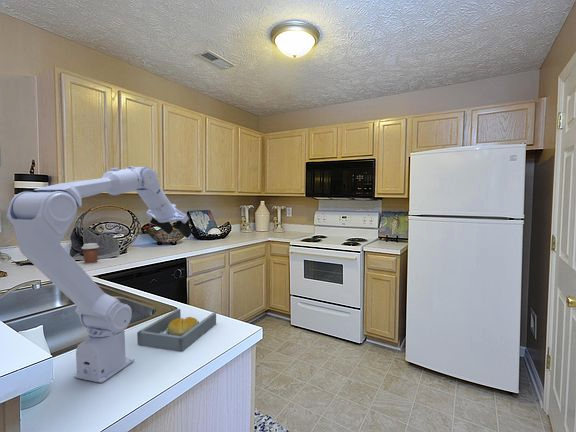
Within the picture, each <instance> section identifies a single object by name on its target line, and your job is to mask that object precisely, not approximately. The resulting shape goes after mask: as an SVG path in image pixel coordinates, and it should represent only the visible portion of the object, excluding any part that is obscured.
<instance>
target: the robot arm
mask: <svg viewBox="0 0 576 432" xmlns="http://www.w3.org/2000/svg"><path fill="white" fill-rule="evenodd" d="M130 192H136V193H137V194H138V195H139V196H140V198H141V200H142V201H143V202H144V203H145V205H146V207H147V208H148V209H147V211H146V212H145V213H146V215H147V216H148V217H149V218H151V220H150V221H149V223H150V224H151V225H154V226H156V227H157V228H159V229H161V230H162V231H164V233H166V234H167V235H171V234H172V232H173V231H174V229H175V230H176V231H179V232H180V233H181V234H182V235H183V236H184V237H185V238H186V239H189V237H190V236H191V235H192V229H191V226H190V225H191V224H190V220H191V216H190V215H189V214H188V213H183V212H181V211H180V210H179V209H178V208H177V204H175V203H171V201H170V200H169V198H168V197H167V195H166V194H165V192H164V191H163V189H162V188H161V183H160V182H159V177H158V173H157V170H154V169H152V167H150V166H134V165H131V166H127V167H126V168H122V169H120V168H119V167H112V168H109V170H108V171H105V172H104V173H103V175H102V176H101V178H93V179H84V180H77V181H69V182H60V183H57V184H52V185H46V186H42V187H41V186H40V187H37V188H35V189H33V191H22V192H19V193H17V194H16V195H14V197H12V199H11V200H10V203H9V206H8V209H7V212H6V215H5V217H6V218H7V220H9V222H10V223H11V224H12V225H13V229H14V233H15V237H16V240H17V244H18V249H19V251H20V253H21V254H22V255H23V256H24V257H25V258H26V259H27V260H28V261H29V262H30V263H32V265H34V267H36V268H37V269H38V270H39V271H40V272H41V273H42V274H43V275H44V276H45V277H46V278H47V279H48V280H49V281H50V282H51V283H53V285H55V287H56V288H58V290H60V291H61V292H62V293H63V294H64V295H65V296H66V297H67V298H68V299H69V300H70V301H71V302H72V303H74V304H75V306H76V308H75V310H74V313H75V314H77V316H78V317H79V321H80V324H81V325H82V326H83V327H85V328H86V333H88V335H87V337H86V338H85V339H84V340H83V341H81V342H80V343H79V344H78V345H77V347H76V348H75V349H76V350H75V356H76V358H75V362H76V363H75V364H76V373H75V374H74V376H73V377H74V378H76V379H80V380H81V379H82V380H86V381H91V382H96V383H104V382H106V381H107V380H109V379H110V378H111V377H113V376H114V375H116V374H117V373H119V372H120V371H121V370H123V369H124V368H126V367H127V366H128V365H131V364H132V363H133V362H134V361H135V358H133V357H126V339H125V336H126V334H125V331H126V329H127V328H128V326H129V324H130V323H131V319H132V317H133V316H132V314H133V313H132V312H133V311H132V307H131V306H130V305H128V304H127V303H122V302H121V301H120V300H119V299H118V298H116V297H114V296H112V295H109V294H108V293H106V292H105V291H103V289H101V287H100V286H99V285H98V283H96V282H95V281H94V280H93V278H92V277H91V276H90V275H89V274H88V273H87V272H86V271H85V270H84V269H83V268H82V266H80V264H79V263H78V262H77V261H76V260H75V259H74V258H73V256H71V254H69V252H68V251H67V250H66V248H64V247H63V246H62V244H61V242H62V240H63V239H64V237H65V235H67V234H66V233H67V232H68V230H69V228H70V227H71V225H72V223H73V221H74V219H75V217H76V215H77V214H78V208H81V207H82V204H83V203H82V202H83V201H82V199H84V198H88V197H92V196H96V195H100V194H102V193H107V194H108V195H111V196H119V195H122V194H125V193H130ZM171 222H175V223H174V224H173V225H172V224H171Z"/></svg>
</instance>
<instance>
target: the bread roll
mask: <svg viewBox="0 0 576 432" xmlns="http://www.w3.org/2000/svg"><path fill="white" fill-rule="evenodd" d="M198 323H200V321H199V320H198V319H196V318H195V317H192V316H188V317H185V318H177V319H174V320H172V321H171V322H170V323H169V325H168V327H167V333H168V335H175V336H182V335H183V334H185V333H186V332H188V331H189V330H190V329H192V328H193V327H194V326H196V325H197V324H198Z"/></svg>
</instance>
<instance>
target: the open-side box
mask: <svg viewBox="0 0 576 432" xmlns="http://www.w3.org/2000/svg"><path fill="white" fill-rule="evenodd" d="M177 318H181V308H177V309H174V310H173V311H171V312H170V313H168V314H166V315H165V316H163V317H161V318H159V319H158V320H155V321H154V322H152V323H150V324H149V325H147V326H146V327H144V328H142V329H140V330H139V331H137V333H136V336H137V338H136V339H137V346H144V347H151V348H157V349H163V350H164V349H165V350H170V351H177V352H184V351H185V350H186V349H188V348H189V347H190V346H191V345H192V344H193V343H195V342H196V341H197V340H198V339H200V338H201V336H203V335H205V333H206V332H208V331H209V330H210V329H212V328H213V327H214V326H215V325H217V313H216V312H211V314H209V315H208V316H207V317H205V318H203V320H201V321H199V323H198V324H197V325H196V326H194V327H193V328H192V329H190V330H189V331H188V332H186V333H185V334H183V335H182V336H175V335H170V334H169V333H168V334H166V333H162V332H163V331H165V330H166V329H167V327H168V325H169V323H170V322H171V321H172V320H174V319H177Z"/></svg>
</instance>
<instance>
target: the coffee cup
mask: <svg viewBox="0 0 576 432" xmlns="http://www.w3.org/2000/svg"><path fill="white" fill-rule="evenodd" d="M99 248H100V245H99V244H98V243H95V242H91V243H84V244H83V245H82V247H81V250H82V253H83V259H84V264H85V266H86V265H96V264H98V260H99V258H98V256H99Z"/></svg>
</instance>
